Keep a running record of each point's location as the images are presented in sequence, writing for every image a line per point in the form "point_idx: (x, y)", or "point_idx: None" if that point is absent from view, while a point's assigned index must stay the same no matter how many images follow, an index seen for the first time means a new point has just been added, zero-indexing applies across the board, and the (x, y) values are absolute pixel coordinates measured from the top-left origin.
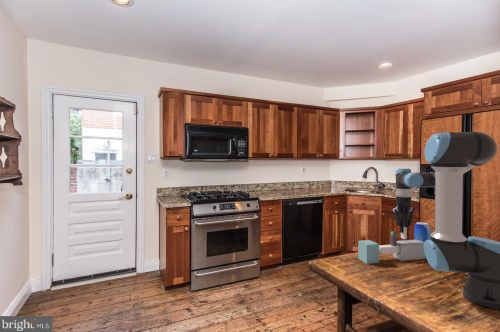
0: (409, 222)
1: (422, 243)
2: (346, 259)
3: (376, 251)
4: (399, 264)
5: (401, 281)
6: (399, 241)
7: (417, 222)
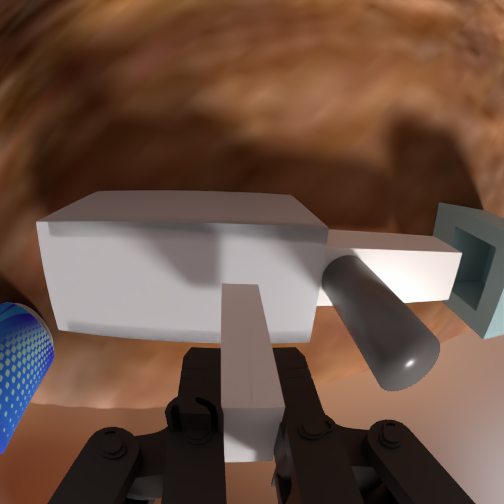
0: (119, 497)
1: (64, 219)
2: None
3: (493, 222)
4: (358, 140)
5: (471, 8)
6: None
7: None
